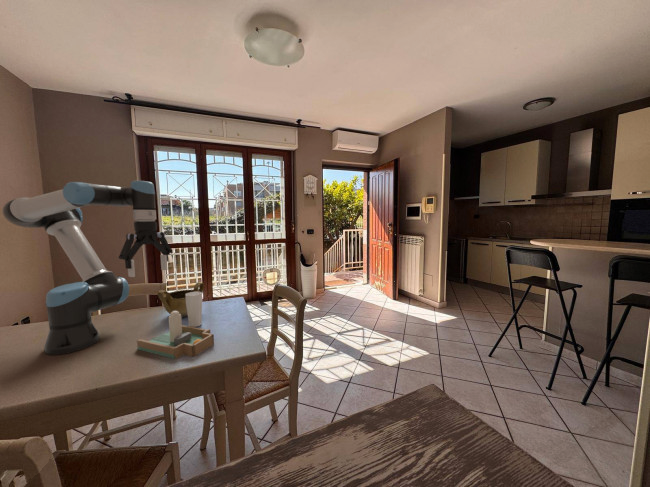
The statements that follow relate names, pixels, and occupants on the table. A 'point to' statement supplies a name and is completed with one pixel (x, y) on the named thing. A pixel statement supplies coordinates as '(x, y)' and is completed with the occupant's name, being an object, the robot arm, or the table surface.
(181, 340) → the striker
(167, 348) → the pitch
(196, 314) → the drinking glass
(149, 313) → the table surface
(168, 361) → the table surface
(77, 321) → the robot arm
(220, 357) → the table surface
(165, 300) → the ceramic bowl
